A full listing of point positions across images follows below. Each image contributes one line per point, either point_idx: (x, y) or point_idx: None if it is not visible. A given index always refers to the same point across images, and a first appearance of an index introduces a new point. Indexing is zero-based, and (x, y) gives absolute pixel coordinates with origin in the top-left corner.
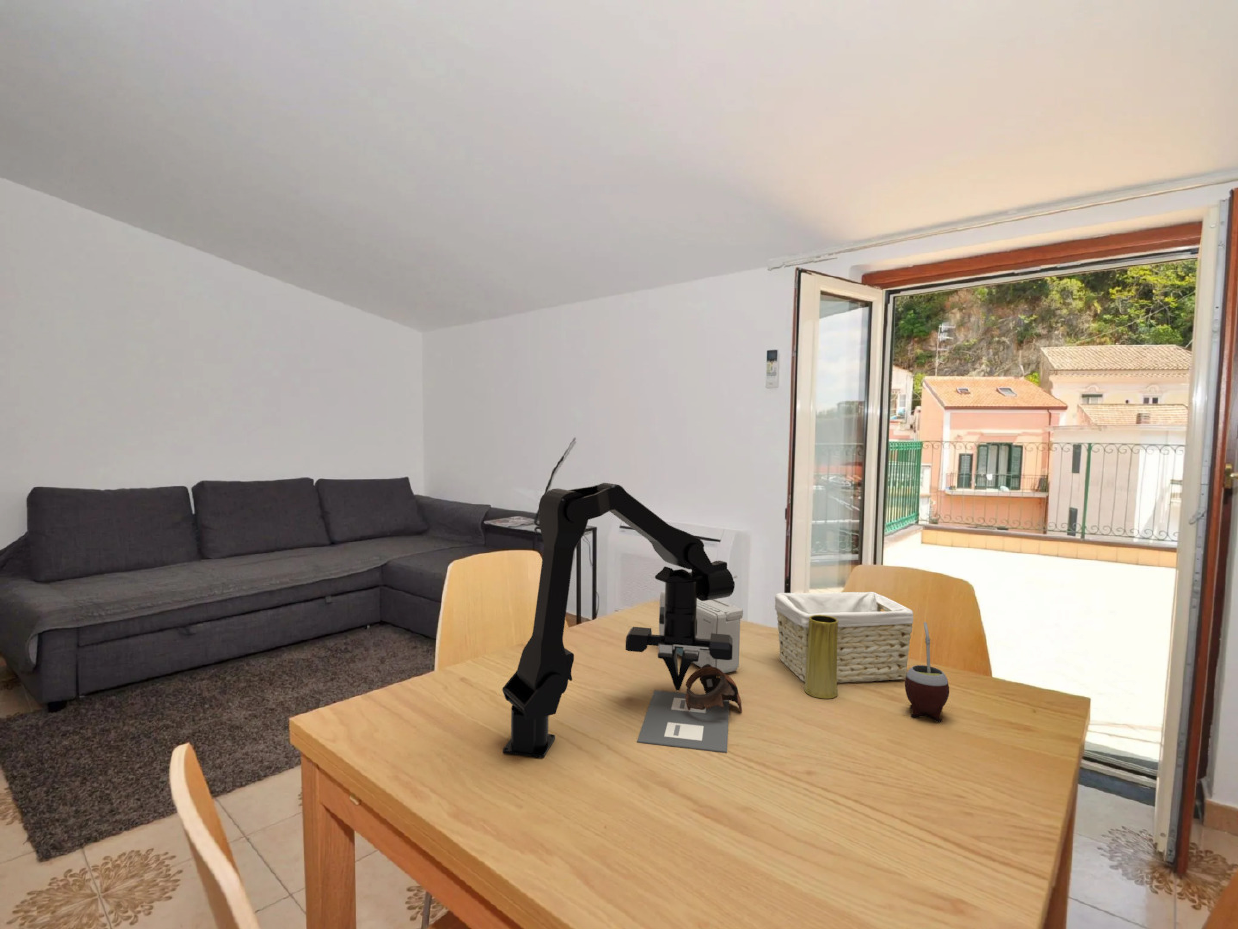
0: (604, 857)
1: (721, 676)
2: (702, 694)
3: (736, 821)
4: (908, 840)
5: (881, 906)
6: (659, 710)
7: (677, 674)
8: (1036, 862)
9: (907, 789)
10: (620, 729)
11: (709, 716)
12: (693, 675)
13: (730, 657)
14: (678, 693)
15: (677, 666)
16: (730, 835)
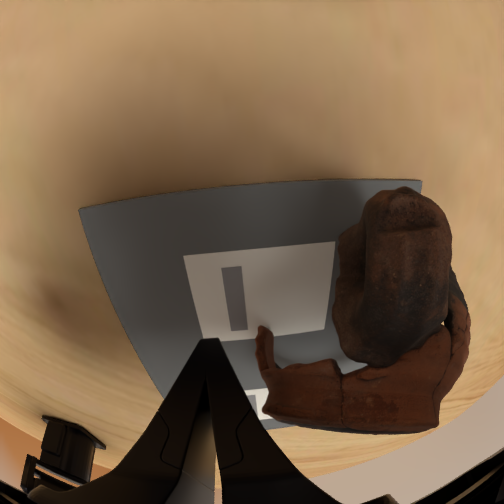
0: None
1: (419, 432)
2: (328, 430)
3: (330, 456)
4: (446, 412)
5: (394, 449)
6: (172, 355)
7: (210, 425)
8: (491, 386)
9: (493, 363)
10: (136, 411)
11: (334, 341)
12: (304, 423)
13: (471, 477)
14: (190, 205)
15: (197, 441)
16: (322, 462)
